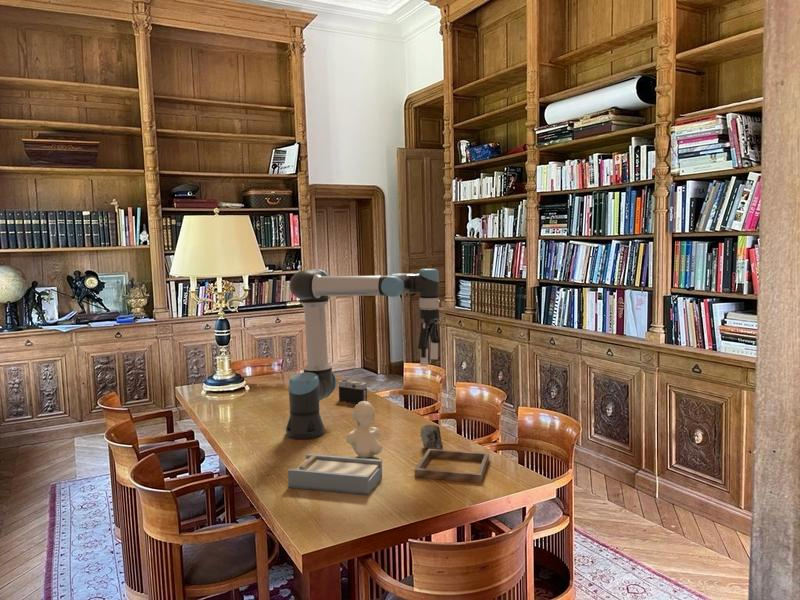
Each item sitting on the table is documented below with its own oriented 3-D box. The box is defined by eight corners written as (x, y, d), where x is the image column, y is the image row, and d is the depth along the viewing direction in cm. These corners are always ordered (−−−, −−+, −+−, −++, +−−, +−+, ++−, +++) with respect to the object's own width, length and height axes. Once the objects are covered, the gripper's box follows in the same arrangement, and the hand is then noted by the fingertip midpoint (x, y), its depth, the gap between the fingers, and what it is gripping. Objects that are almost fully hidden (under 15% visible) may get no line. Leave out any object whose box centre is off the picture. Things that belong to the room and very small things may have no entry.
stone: (446, 421, 225) (419, 419, 229) (440, 445, 219) (413, 442, 222) (449, 436, 232) (424, 433, 235) (444, 459, 226) (418, 456, 229)
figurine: (355, 464, 212) (354, 407, 210) (342, 456, 219) (341, 401, 218) (388, 456, 219) (388, 401, 217) (375, 449, 227) (374, 396, 225)
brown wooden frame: (414, 476, 200) (414, 469, 200) (428, 455, 220) (428, 448, 219) (480, 482, 195) (480, 475, 194) (488, 460, 214) (488, 453, 214)
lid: (292, 473, 194) (292, 467, 194) (307, 460, 205) (307, 454, 205) (367, 480, 188) (367, 473, 187) (378, 467, 199) (378, 460, 199)
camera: (372, 400, 296) (371, 380, 295) (362, 404, 289) (361, 383, 288) (348, 397, 303) (348, 377, 302) (338, 401, 296) (337, 380, 295)
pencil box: (288, 487, 193) (287, 470, 192) (307, 470, 207) (307, 453, 207) (367, 495, 186) (367, 477, 186) (382, 476, 201) (381, 460, 200)
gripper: (429, 312, 228) (429, 369, 230) (447, 305, 251) (447, 357, 253) (409, 311, 230) (410, 367, 232) (429, 304, 254) (429, 355, 256)
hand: (429, 362), depth 243 cm, fingers open, 13 cm apart
